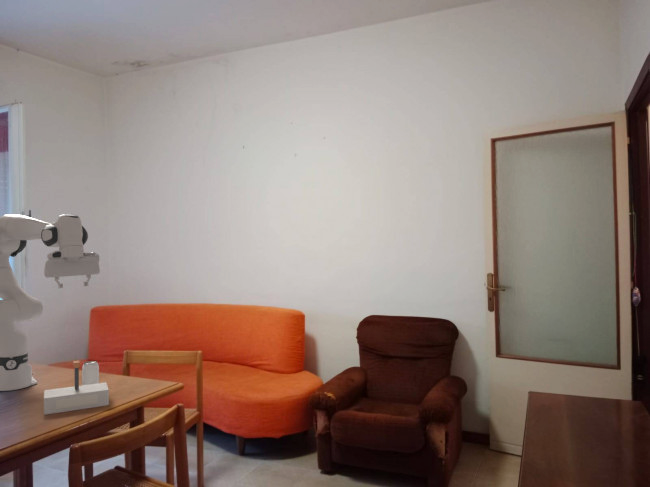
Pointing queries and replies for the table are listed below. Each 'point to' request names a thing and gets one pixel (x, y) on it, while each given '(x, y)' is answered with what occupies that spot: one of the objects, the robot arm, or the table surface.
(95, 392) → the box
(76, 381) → the lever
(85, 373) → the can
